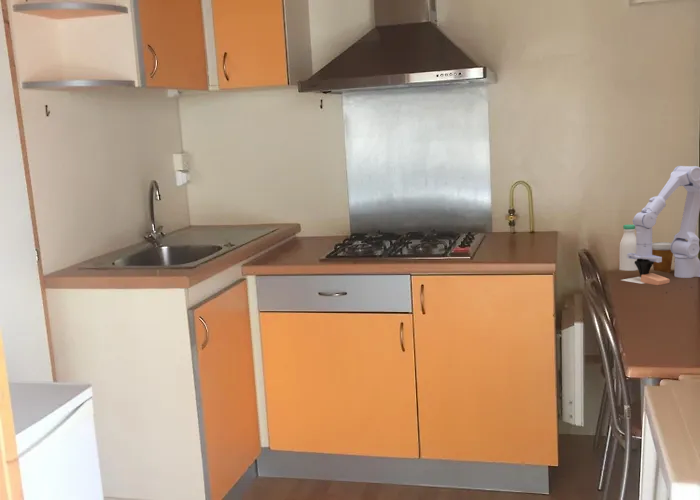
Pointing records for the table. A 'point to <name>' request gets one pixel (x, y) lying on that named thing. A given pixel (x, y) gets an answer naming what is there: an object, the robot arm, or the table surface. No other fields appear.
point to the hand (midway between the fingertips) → (644, 278)
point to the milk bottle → (627, 249)
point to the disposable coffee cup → (662, 251)
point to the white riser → (634, 280)
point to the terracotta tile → (654, 279)
